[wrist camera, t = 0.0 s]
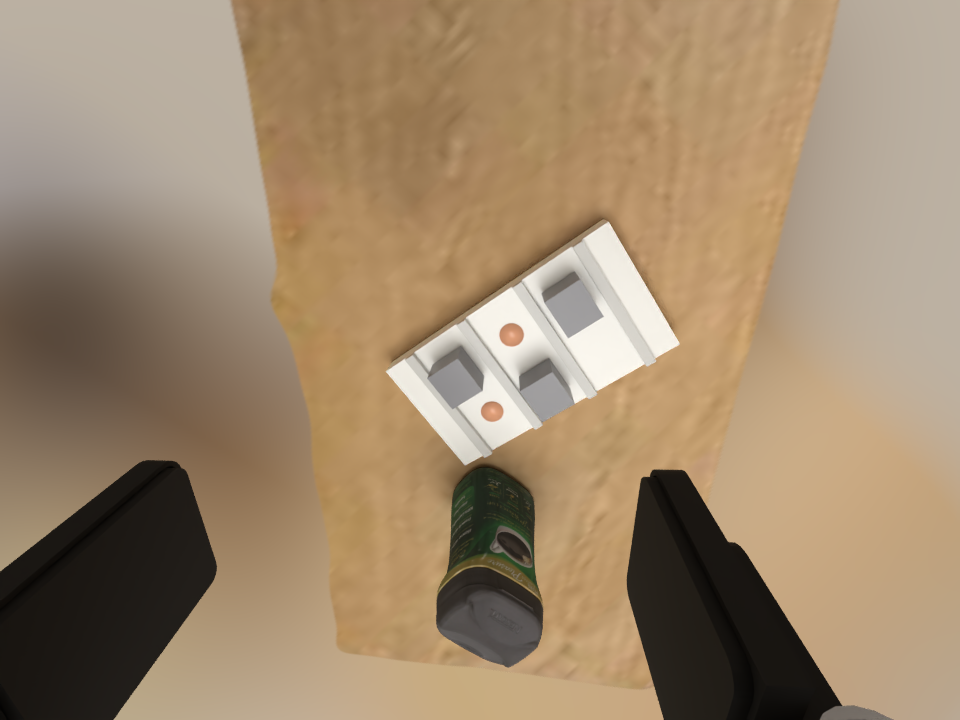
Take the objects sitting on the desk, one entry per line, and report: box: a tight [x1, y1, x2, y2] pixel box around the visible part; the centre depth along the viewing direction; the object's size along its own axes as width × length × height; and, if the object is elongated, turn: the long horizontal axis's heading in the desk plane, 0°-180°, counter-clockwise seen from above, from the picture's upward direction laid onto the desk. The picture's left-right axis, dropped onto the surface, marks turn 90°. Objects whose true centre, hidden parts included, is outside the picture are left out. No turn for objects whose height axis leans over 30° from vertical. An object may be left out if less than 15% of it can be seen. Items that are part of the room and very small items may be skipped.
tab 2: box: [542, 271, 604, 338], centre depth 41 cm, size 4×4×3 cm
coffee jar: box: [436, 467, 543, 667], centre depth 47 cm, size 10×8×19 cm
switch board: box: [386, 219, 680, 465], centre depth 46 cm, size 14×26×3 cm, turn 125°
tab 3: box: [519, 358, 575, 422], centre depth 44 cm, size 4×4×3 cm
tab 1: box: [427, 346, 484, 409], centre depth 44 cm, size 4×4×3 cm
